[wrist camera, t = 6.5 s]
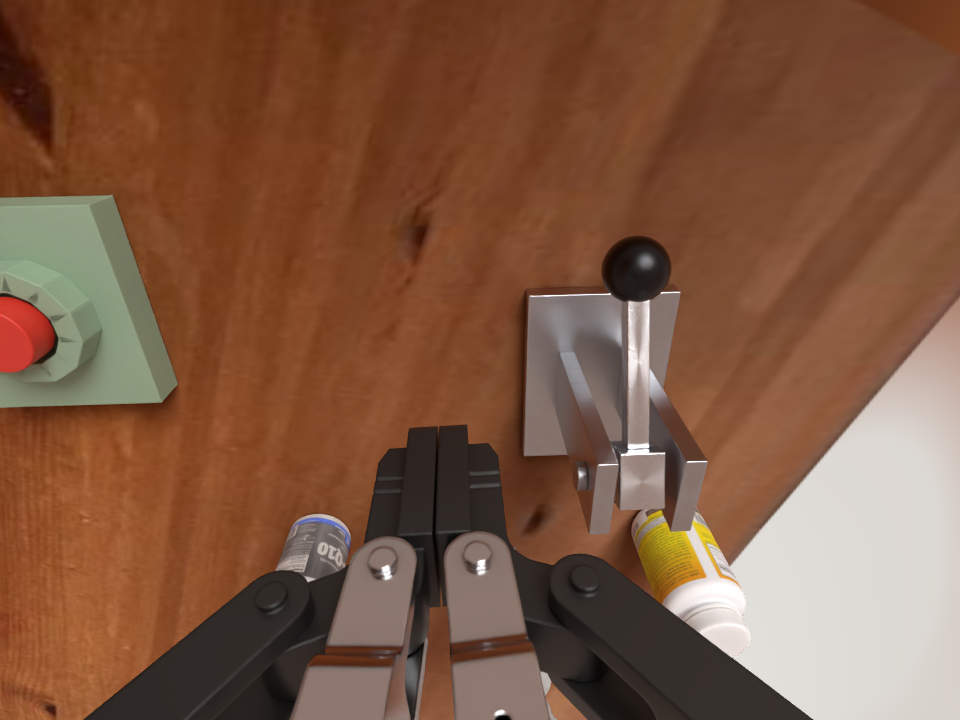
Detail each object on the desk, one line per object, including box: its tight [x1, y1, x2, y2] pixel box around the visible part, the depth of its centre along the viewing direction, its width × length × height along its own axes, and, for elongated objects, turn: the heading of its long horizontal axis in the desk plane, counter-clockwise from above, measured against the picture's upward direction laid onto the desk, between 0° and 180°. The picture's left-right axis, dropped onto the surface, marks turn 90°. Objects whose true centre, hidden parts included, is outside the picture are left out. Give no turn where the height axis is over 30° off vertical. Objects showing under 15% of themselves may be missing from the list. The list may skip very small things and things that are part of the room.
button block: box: [0, 195, 178, 408], centre depth 30 cm, size 12×10×4 cm
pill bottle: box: [275, 514, 351, 582], centre depth 38 cm, size 5×5×8 cm
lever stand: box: [522, 285, 708, 535], centre depth 30 cm, size 12×9×12 cm
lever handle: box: [601, 236, 671, 510], centre depth 26 cm, size 13×3×3 cm, turn 1°
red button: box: [0, 297, 55, 373], centre depth 28 cm, size 4×4×2 cm
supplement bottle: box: [631, 508, 751, 658], centre depth 38 cm, size 6×6×10 cm
